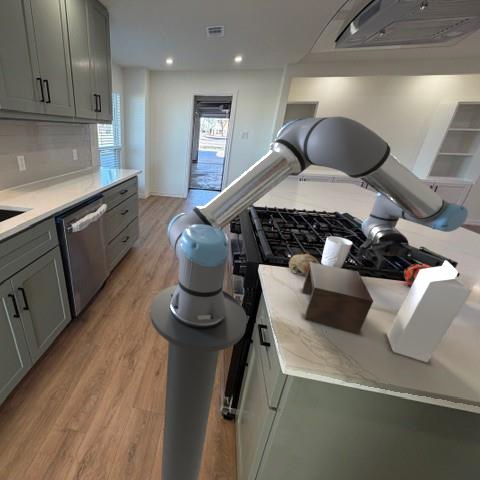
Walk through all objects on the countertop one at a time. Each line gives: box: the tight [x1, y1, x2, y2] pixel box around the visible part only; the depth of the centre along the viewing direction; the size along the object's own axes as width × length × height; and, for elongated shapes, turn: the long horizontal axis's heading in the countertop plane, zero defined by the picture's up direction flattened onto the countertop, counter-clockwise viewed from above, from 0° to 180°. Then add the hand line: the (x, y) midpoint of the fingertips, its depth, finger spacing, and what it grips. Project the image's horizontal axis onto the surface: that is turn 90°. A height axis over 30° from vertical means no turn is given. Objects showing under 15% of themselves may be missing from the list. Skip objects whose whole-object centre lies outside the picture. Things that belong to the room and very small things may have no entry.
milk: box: [386, 260, 472, 363], centre depth 54 cm, size 6×6×22 cm
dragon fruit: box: [403, 263, 432, 287], centre depth 82 cm, size 8×8×12 cm
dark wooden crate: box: [301, 262, 374, 335], centre depth 69 cm, size 12×15×10 cm
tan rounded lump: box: [288, 253, 321, 277], centre depth 90 cm, size 10×10×8 cm
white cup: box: [320, 236, 353, 268], centre depth 94 cm, size 8×8×10 cm
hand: (417, 271), depth 61 cm, fingers open, 13 cm apart
